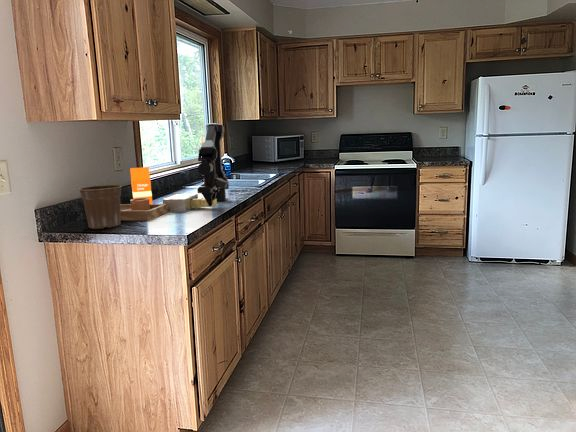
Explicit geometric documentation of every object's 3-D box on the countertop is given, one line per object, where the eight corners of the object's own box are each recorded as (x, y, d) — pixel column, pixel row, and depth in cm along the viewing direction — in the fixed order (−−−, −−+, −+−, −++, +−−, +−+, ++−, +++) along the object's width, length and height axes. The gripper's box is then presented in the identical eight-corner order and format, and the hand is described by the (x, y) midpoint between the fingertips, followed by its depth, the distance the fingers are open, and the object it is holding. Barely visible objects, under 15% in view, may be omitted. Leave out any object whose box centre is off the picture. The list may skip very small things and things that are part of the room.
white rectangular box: (177, 205, 226) (176, 194, 225) (198, 205, 224) (197, 193, 223) (163, 211, 211) (162, 199, 210) (185, 211, 209) (184, 199, 208)
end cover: (187, 206, 220) (186, 197, 219) (217, 206, 217) (217, 197, 216) (182, 208, 215) (182, 199, 214) (214, 208, 212) (213, 199, 211)
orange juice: (153, 208, 223) (149, 167, 219) (134, 209, 220) (130, 168, 216) (152, 205, 231) (148, 166, 227) (133, 207, 228) (129, 167, 224)
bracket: (142, 211, 213) (141, 197, 211) (154, 213, 208) (152, 198, 207) (109, 219, 198) (107, 204, 197) (120, 221, 194) (118, 205, 192)
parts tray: (115, 212, 214) (114, 204, 213) (167, 212, 209) (167, 204, 208) (94, 220, 197) (93, 211, 196) (150, 220, 192) (149, 211, 192)
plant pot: (98, 222, 193) (93, 184, 190) (133, 221, 191) (129, 184, 187) (75, 230, 177) (69, 190, 174) (112, 230, 175) (107, 189, 172)
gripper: (219, 174, 201) (221, 208, 204) (231, 170, 219) (233, 202, 222) (195, 175, 203) (198, 209, 206) (209, 170, 221) (212, 202, 224)
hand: (211, 205), depth 215 cm, fingers closed on end cover, 3 cm apart
